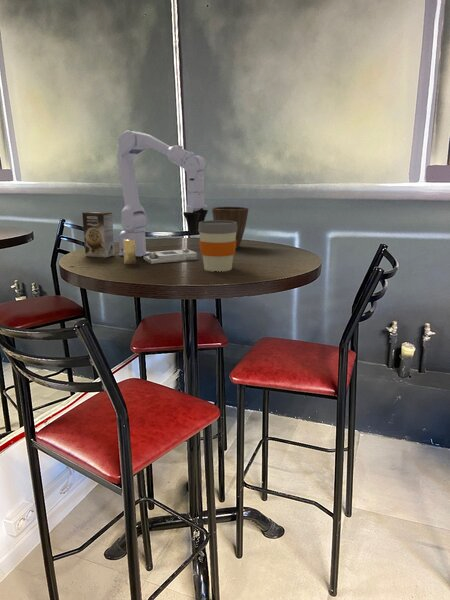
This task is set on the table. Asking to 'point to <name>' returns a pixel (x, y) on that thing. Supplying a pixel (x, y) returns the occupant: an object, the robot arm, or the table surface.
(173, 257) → the square-hole plate
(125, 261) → the brass pin
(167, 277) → the table surface
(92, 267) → the table surface
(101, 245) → the coffee box
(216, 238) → the reusable coffee cup
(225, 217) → the plant pot
